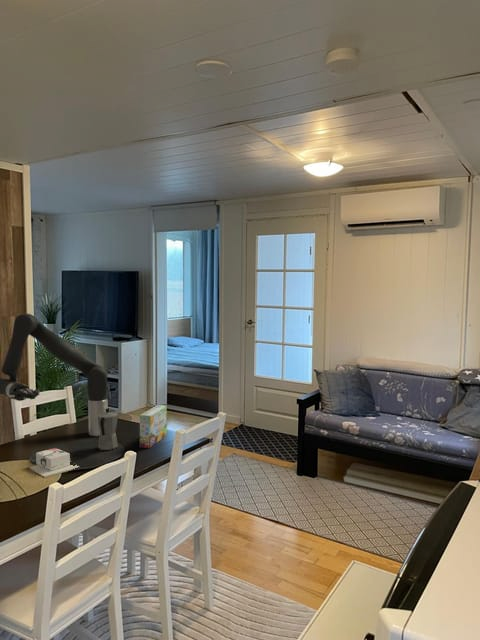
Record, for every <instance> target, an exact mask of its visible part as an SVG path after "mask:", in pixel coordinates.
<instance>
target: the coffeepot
mask: <svg viewBox="0 0 480 640" xmlns="http://www.w3.org/2000/svg"><path fill="white" fill-rule="evenodd" d="M97 417H98V424H99V430H100V435H99V436H98V437H99V438H98V443H97V449H98V448H102V449H111V448H115V447H118V448H119V445H118V443H119V442H118V439H117V434H116V429H117V427H118V426H117V425H118V417H119V414H118V413H117V412H113V411H110V408H107V409H106V412H105V413H101V414H98V415H97Z"/></svg>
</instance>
